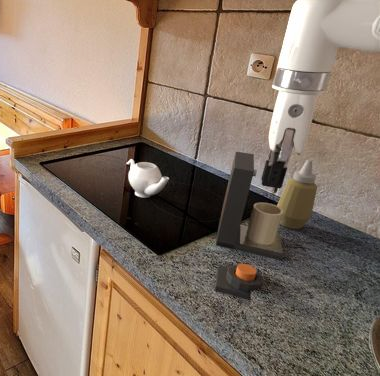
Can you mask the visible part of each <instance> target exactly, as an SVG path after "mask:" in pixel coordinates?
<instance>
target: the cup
mask: <svg viewBox="0 0 380 376" xmlns="http://www.w3.org/2000/svg"><path fill="white" fill-rule="evenodd" d="M282 216H283V210H282V209H281V208H280V207H278V206H277V204H273V203H269V202H255V203H254V204H253V207H252V210H251V213H250V217H249V221H248V224H247V225H248V228H247V231H246V237H247V238H248V239H249V240H251V241H253V242H255V243H258V244H263V245H270V244H273V243H274V241H275V238H276V235H277V232H278V231H279V228H280V225H281V224H280V222H281V219H282Z"/></svg>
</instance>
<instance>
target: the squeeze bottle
mask: <svg viewBox="0 0 380 376" xmlns="http://www.w3.org/2000/svg"><path fill="white" fill-rule="evenodd" d="M316 178H317V175H316V174H315V173H313V160H312V159H306V161H305V162H304V164H303V165H302V167H301V168H300V170H295V171H294V173H293V176H292V178H288V180H287V182H286V184H285V186H284V188H283V190H282V192H281V195H280V197H279V200H278V202H277V204H276V206H278V207H280V208H281V209H282V210H283V216H282V219H281V222H280V225H281V226H282V227H285V228H287V229H292V230H299V229H302V228H303V227H304V226H305V225H306V223H307V222H308V221H309V220H310V219H311V218H312V215H313V210H314V205H315V201H316V195H317V191H318V185H317V184H316V183H315V181H316Z"/></svg>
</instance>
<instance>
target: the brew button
mask: <svg viewBox="0 0 380 376" xmlns="http://www.w3.org/2000/svg"><path fill="white" fill-rule="evenodd" d="M237 265H238V266H237V269H236V273H235V274H236V276H237V277H238V278H240V279H242V280H245V281H254V279H255V276H256V273H257V271H258V270H257V269H256V268H255V267H254V266H252V265H250V264H248V263H239V264H237Z"/></svg>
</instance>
